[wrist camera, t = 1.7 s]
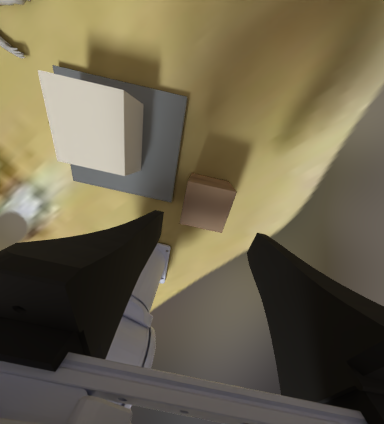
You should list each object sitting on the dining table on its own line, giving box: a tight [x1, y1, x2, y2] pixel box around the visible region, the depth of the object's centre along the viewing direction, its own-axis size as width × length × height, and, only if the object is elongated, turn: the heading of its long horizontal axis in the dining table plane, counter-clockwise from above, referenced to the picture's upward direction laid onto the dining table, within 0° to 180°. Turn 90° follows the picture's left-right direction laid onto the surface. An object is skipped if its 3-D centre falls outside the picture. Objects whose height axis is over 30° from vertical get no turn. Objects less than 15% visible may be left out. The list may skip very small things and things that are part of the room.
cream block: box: [38, 70, 144, 176], centre depth 14 cm, size 7×7×4 cm
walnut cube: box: [180, 173, 237, 233], centre depth 17 cm, size 5×5×5 cm
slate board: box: [53, 65, 188, 202], centre depth 17 cm, size 12×14×1 cm
